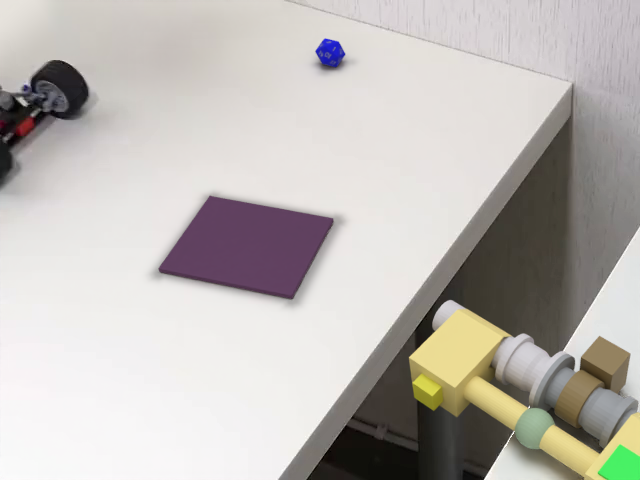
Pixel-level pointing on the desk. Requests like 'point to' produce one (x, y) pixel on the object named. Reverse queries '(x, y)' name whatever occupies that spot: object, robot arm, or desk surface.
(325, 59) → the die
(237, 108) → the desk surface
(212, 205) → the mat
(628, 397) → the toy
